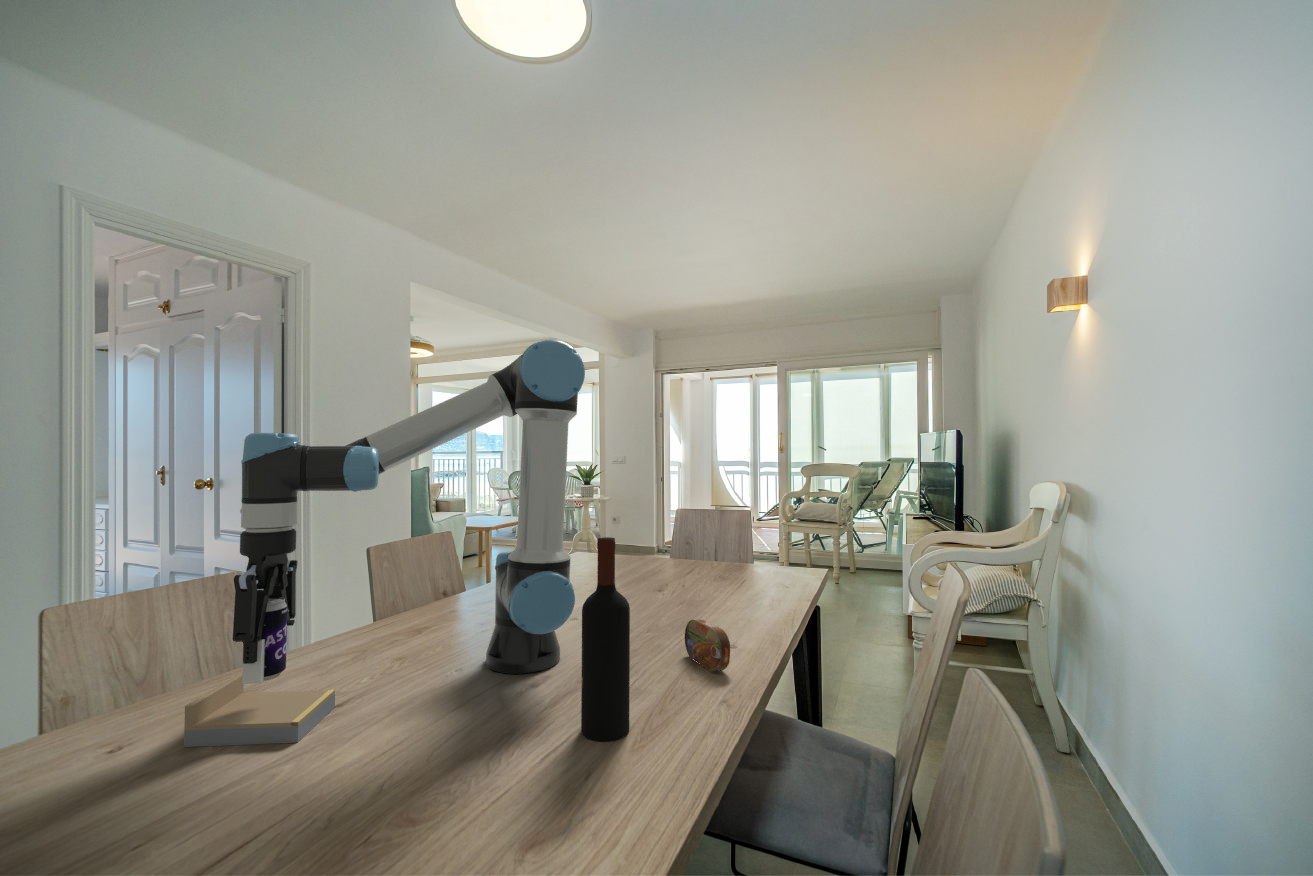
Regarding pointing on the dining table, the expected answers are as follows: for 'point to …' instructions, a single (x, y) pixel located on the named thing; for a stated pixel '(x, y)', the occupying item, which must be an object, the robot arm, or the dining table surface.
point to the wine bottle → (605, 654)
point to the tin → (707, 645)
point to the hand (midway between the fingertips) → (264, 674)
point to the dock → (253, 715)
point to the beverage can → (275, 638)
